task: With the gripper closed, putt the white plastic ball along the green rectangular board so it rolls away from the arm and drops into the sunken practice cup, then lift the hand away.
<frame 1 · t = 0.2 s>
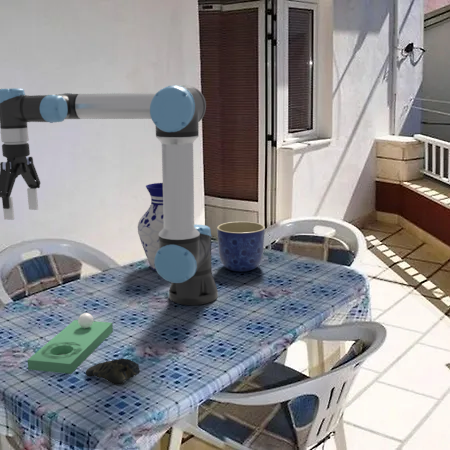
hand: (21, 214, 183), 28 cm above the table, fingers open, 13 cm apart
vase: (165, 267, 223), on the table
stone: (112, 379, 141), on the table
planter: (241, 268, 221), on the table
ball: (85, 320, 163), point 4 cm above the table, touching green rectangular board
green rectangular board: (73, 349, 156), on the table
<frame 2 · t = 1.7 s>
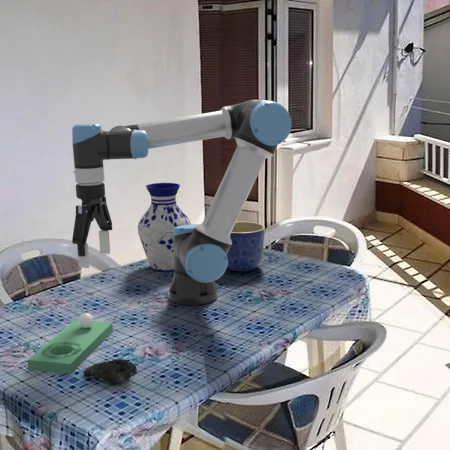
hand: (95, 260, 168), 19 cm above the table, fingers open, 13 cm apart
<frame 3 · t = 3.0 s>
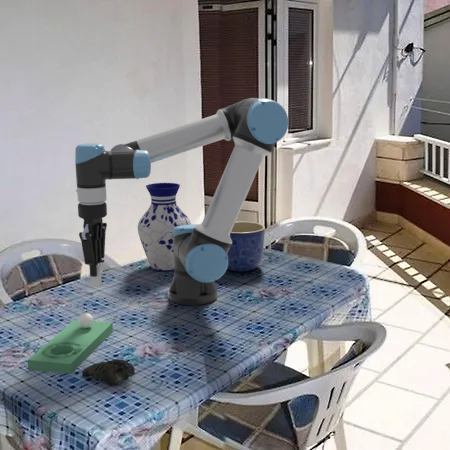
hand: (96, 286, 169), 11 cm above the table, fingers closed
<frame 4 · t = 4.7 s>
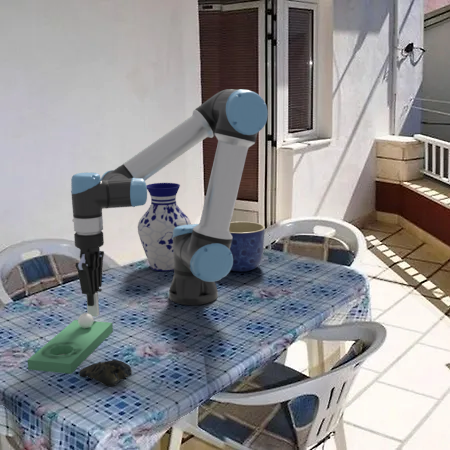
hand: (93, 315, 168), 4 cm above the table, fingers closed
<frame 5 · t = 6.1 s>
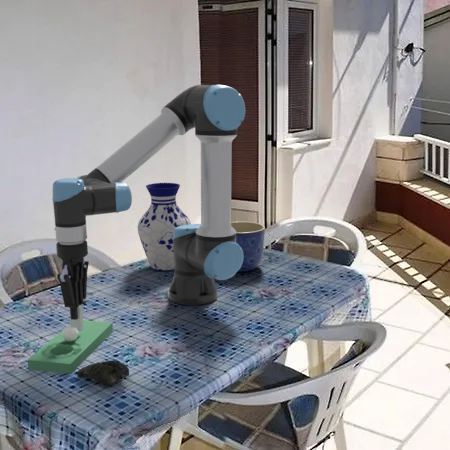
hand: (77, 329, 158), 4 cm above the table, fingers closed
ball: (70, 333, 155), point 4 cm above the table, tilted 117°, touching green rectangular board
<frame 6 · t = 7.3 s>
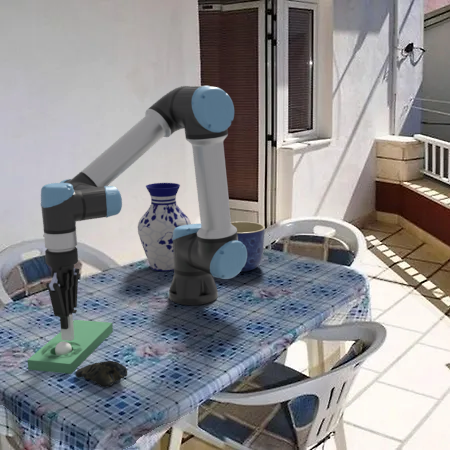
hand: (68, 339, 153), 4 cm above the table, fingers closed
ball: (63, 349, 151), point 2 cm above the table, tilted 36°, touching green rectangular board
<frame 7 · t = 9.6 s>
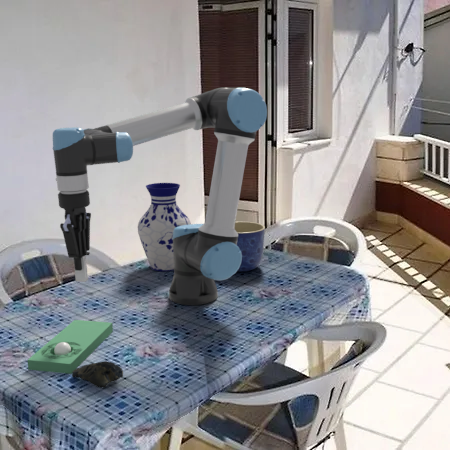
hand: (81, 280, 158), 16 cm above the table, fingers closed
ball: (62, 350, 150), point 2 cm above the table, tilted 47°, touching green rectangular board
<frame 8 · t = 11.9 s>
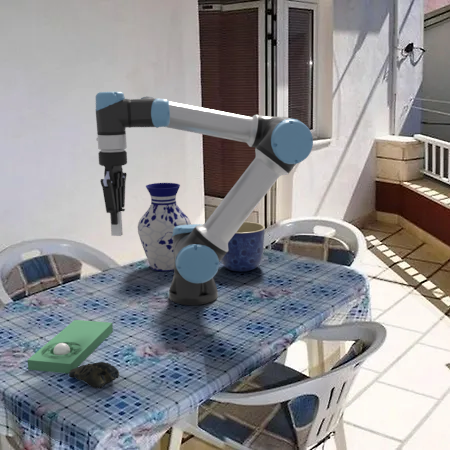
hand: (117, 235, 171), 24 cm above the table, fingers closed
ball: (61, 351, 150), point 2 cm above the table, tilted 58°, touching green rectangular board
at the end: ball 0.2 cm from the target spot in the green rectangular board, point 2.3 cm above the green rectangular board's base; ball touching green rectangular board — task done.
